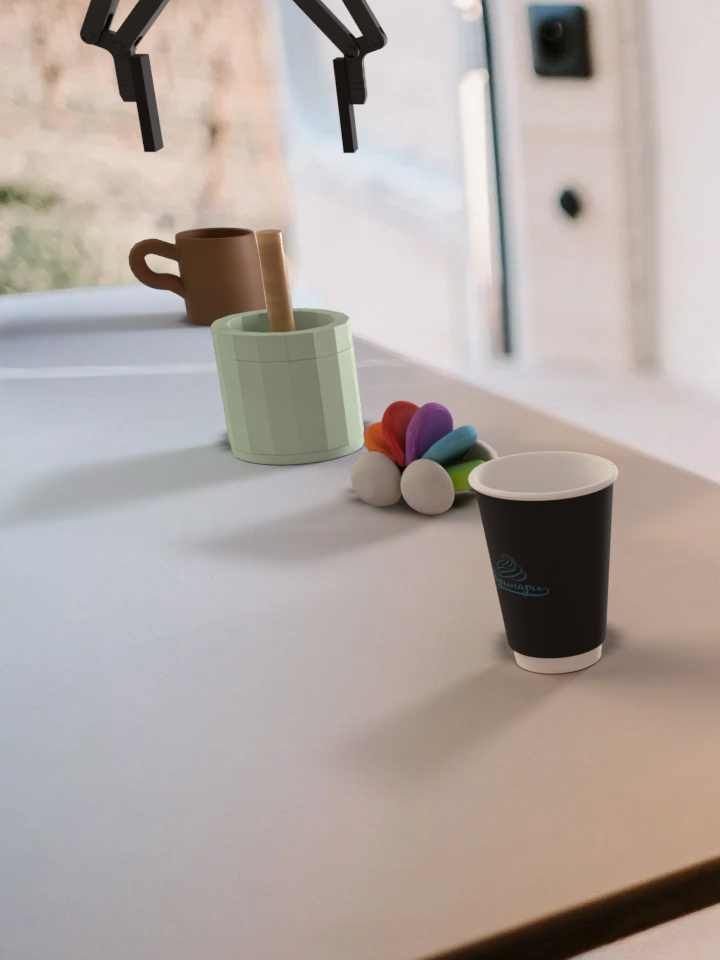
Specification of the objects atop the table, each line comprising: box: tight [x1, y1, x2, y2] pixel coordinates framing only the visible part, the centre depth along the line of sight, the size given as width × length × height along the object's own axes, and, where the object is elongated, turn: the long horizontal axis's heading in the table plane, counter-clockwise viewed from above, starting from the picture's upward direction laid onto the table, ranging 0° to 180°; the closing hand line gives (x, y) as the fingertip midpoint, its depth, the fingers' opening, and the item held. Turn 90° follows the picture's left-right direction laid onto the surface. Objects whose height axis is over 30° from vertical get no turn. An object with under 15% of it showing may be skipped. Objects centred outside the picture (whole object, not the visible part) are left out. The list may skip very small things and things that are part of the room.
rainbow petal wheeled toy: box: [350, 400, 500, 516], centre depth 115 cm, size 8×10×7 cm
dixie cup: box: [468, 450, 619, 675], centre depth 90 cm, size 8×8×11 cm
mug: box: [128, 226, 267, 327], centre depth 163 cm, size 12×8×9 cm, turn 119°
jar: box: [210, 307, 365, 466], centre depth 126 cm, size 10×10×10 cm
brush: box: [255, 229, 296, 332], centre depth 124 cm, size 4×4×16 cm
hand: (253, 150), depth 119 cm, fingers open, 13 cm apart
